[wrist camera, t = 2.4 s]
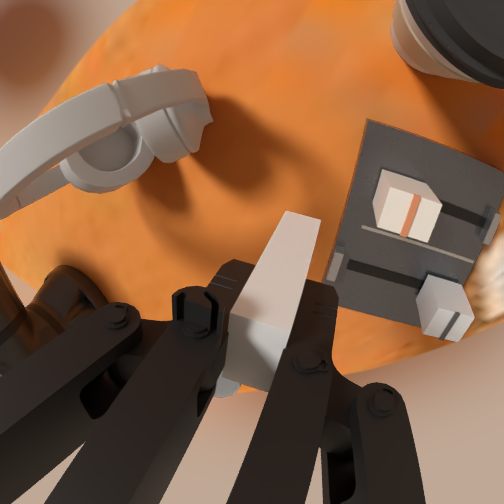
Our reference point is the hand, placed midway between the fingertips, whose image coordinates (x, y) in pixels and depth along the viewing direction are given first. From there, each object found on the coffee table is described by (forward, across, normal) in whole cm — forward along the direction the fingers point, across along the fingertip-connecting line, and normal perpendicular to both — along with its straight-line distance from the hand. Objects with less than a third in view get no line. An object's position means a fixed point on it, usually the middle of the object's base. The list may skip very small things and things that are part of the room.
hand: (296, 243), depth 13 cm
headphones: (+16, -16, +1) cm, 23 cm away
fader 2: (+13, +14, -8) cm, 21 cm away
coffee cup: (+16, +7, +14) cm, 22 cm away
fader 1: (+13, +7, 0) cm, 15 cm away
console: (+16, +10, -4) cm, 19 cm away
